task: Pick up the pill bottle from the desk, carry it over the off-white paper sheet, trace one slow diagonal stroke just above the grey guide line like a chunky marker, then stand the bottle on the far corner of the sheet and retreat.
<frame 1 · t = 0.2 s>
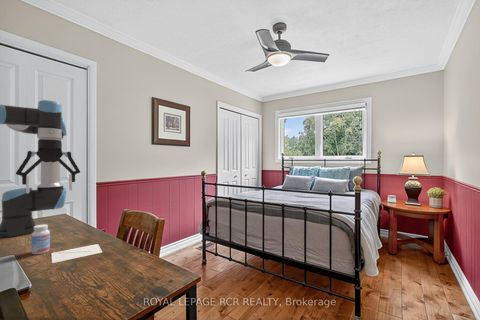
hand: (50, 191, 96), 27 cm above the table, fingers open, 13 cm apart
pill bottle: (40, 252, 101), on the table
paper: (77, 253, 100), on the table
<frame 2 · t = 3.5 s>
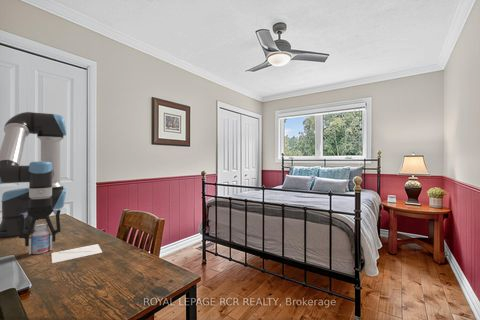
hand: (40, 251, 101), 0 cm above the table, fingers closed on pill bottle, 6 cm apart
pill bottle: (40, 252, 101), on the table, touching gripper
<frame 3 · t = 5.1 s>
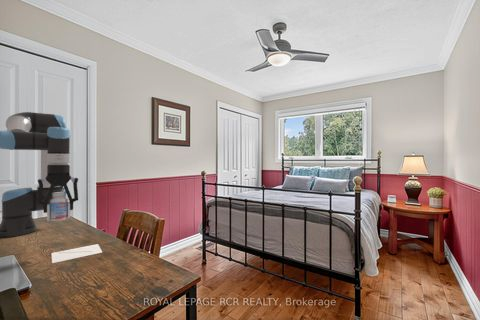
hand: (58, 218, 99), 15 cm above the table, fingers closed on pill bottle, 6 cm apart
pill bottle: (58, 219, 100), point 14 cm above the table, touching gripper
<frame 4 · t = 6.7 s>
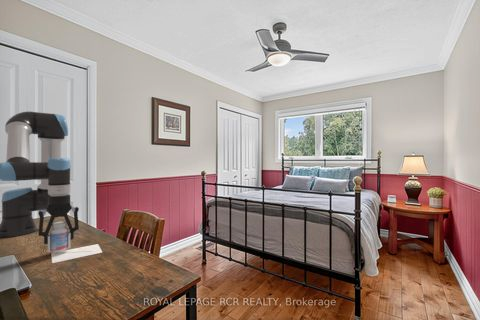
hand: (59, 249, 100), 2 cm above the table, fingers closed on pill bottle, 6 cm apart
pill bottle: (59, 250, 100), point 1 cm above the table, touching gripper
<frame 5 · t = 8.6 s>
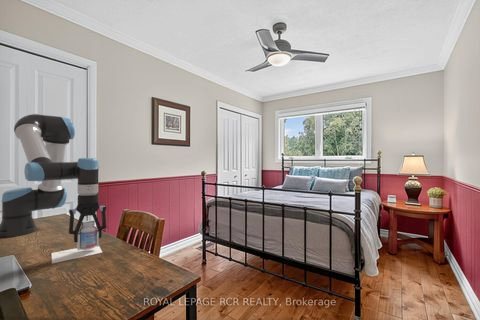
hand: (88, 247, 102), 2 cm above the table, fingers closed on pill bottle, 6 cm apart
pill bottle: (88, 248, 102), point 2 cm above the table, touching gripper
when the fingers open (1 cm above the table, at t = 10.0 s): pill bottle stays where it is, resting on paper.
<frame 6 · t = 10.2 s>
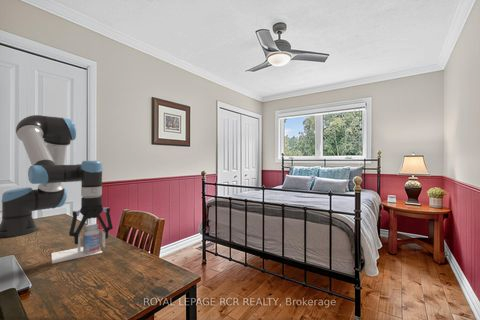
hand: (91, 248, 102), 1 cm above the table, fingers open, 8 cm apart
pill bottle: (91, 251, 102), resting on paper
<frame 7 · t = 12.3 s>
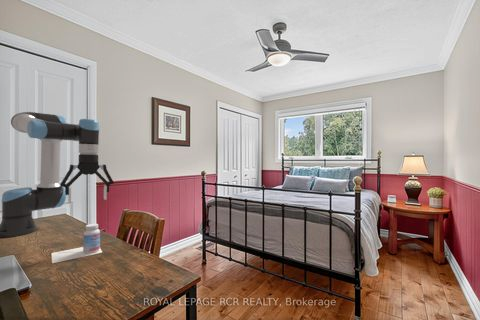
hand: (88, 200, 107), 21 cm above the table, fingers open, 13 cm apart
nothing on the table moved.
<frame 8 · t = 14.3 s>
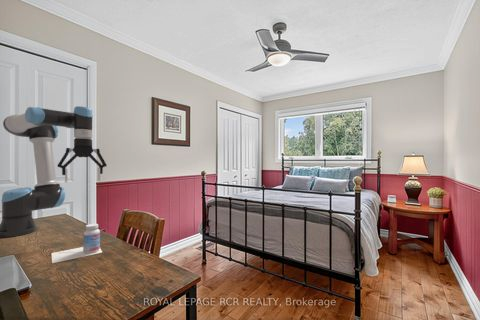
hand: (83, 181, 117), 29 cm above the table, fingers open, 13 cm apart
nothing on the table moved.
at the end: pill bottle inside the target area on the paper (5.3 cm from its centre), point 0.0 cm above the paper's base; pill bottle tilted 1°; the gripper is holding nothing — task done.
